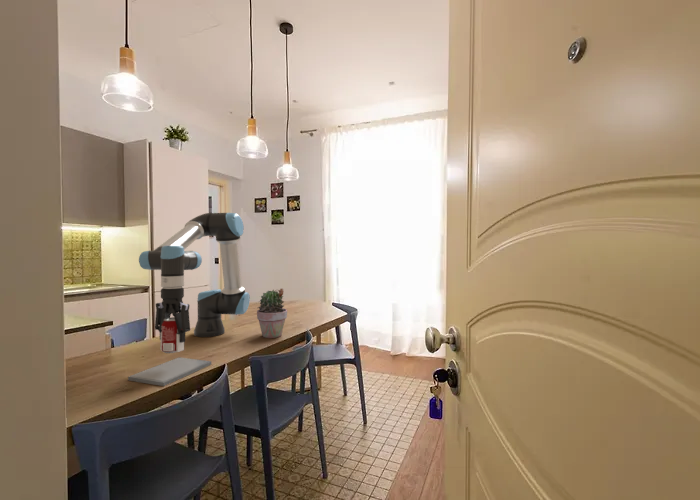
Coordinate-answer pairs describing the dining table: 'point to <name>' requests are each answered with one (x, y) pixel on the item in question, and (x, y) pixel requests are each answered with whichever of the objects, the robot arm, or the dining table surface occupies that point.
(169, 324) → the soda can
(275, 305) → the potted plant
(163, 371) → the slate board
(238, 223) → the robot arm
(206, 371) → the dining table surface
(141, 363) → the dining table surface
